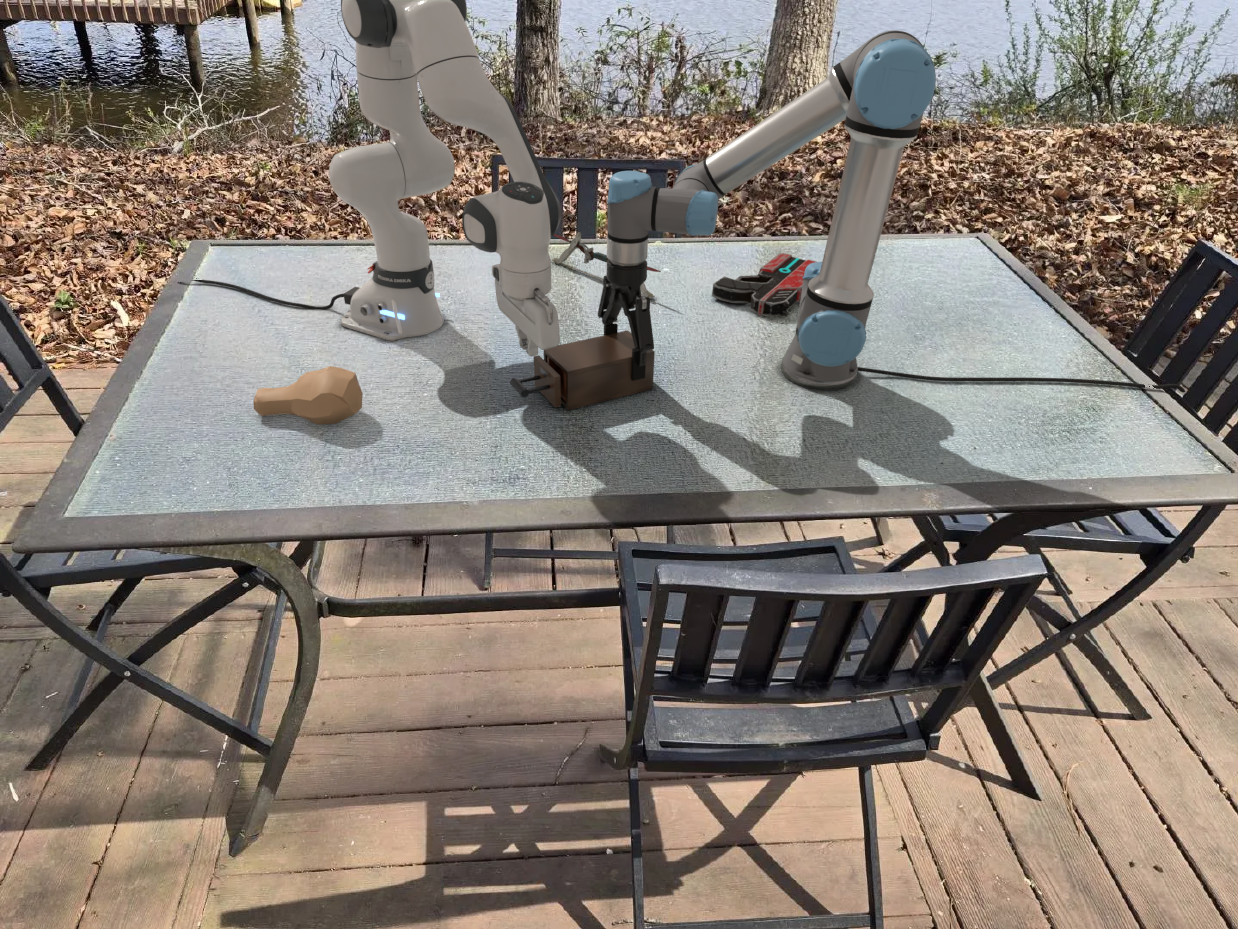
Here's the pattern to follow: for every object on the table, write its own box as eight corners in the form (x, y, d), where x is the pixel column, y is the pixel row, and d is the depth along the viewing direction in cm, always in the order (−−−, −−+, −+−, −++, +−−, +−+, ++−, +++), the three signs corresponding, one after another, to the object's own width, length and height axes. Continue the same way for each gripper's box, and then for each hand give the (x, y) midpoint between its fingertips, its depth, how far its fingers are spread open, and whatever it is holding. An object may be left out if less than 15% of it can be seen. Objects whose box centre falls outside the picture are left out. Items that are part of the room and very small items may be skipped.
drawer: (526, 414, 162) (524, 384, 158) (506, 392, 169) (504, 362, 165) (636, 387, 172) (637, 358, 168) (613, 367, 179) (613, 338, 175)
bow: (662, 300, 209) (664, 260, 204) (657, 302, 208) (659, 262, 203) (550, 258, 231) (549, 220, 225) (545, 259, 230) (544, 222, 224)
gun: (708, 284, 207) (784, 305, 199) (760, 245, 229) (831, 262, 221) (706, 302, 209) (781, 323, 201) (758, 261, 231) (828, 278, 223)
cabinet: (568, 410, 166) (567, 371, 161) (544, 386, 173) (543, 348, 169) (652, 389, 173) (654, 351, 169) (626, 366, 181) (627, 330, 176)
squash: (362, 431, 158) (346, 392, 151) (255, 439, 159) (235, 401, 153) (374, 393, 165) (360, 354, 159) (272, 401, 167) (254, 364, 161)
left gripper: (568, 298, 147) (569, 371, 155) (519, 258, 162) (522, 326, 170) (534, 304, 145) (536, 378, 152) (487, 263, 159) (492, 333, 167)
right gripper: (677, 277, 155) (670, 387, 167) (614, 237, 171) (612, 339, 184) (641, 284, 151) (636, 396, 164) (580, 242, 168) (580, 346, 180)
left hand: (528, 351), depth 161 cm, fingers closed
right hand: (623, 366), depth 174 cm, fingers closed on cabinet, 11 cm apart
